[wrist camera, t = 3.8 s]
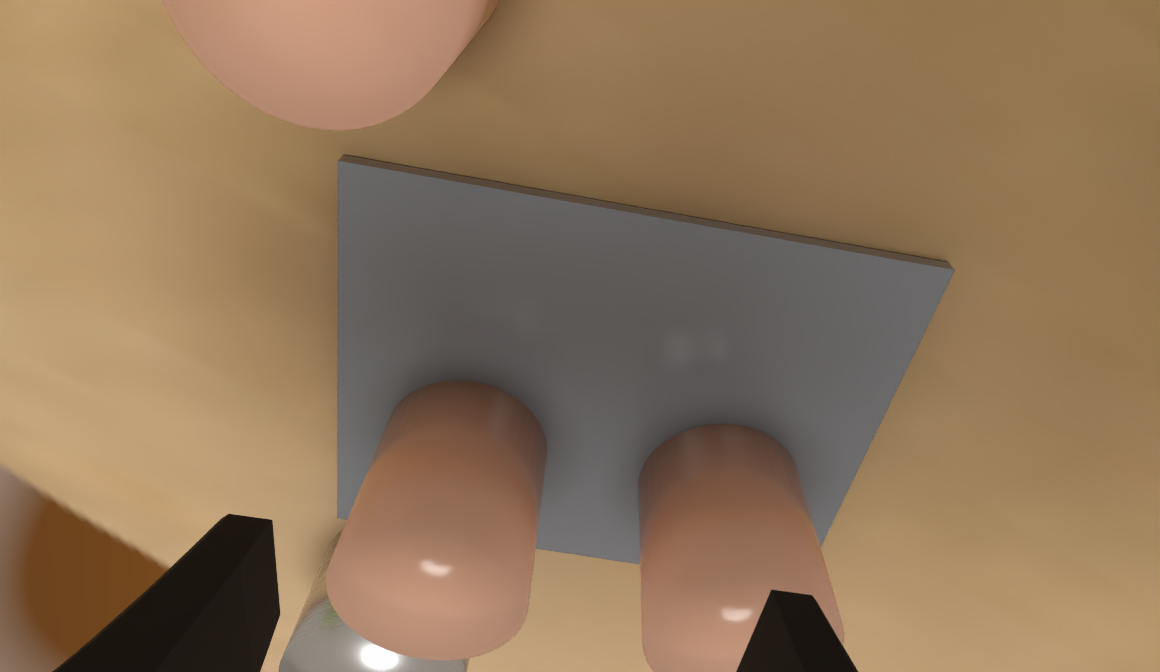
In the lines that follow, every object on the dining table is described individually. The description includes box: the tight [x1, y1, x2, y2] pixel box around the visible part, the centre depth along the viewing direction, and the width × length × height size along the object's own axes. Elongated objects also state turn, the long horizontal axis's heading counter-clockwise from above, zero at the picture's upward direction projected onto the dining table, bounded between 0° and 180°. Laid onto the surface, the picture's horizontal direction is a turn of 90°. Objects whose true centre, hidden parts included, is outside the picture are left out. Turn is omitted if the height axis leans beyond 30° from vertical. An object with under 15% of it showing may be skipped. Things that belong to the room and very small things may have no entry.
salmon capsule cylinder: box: [638, 424, 844, 672], centre depth 19 cm, size 4×4×5 cm
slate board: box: [337, 155, 955, 564], centre depth 20 cm, size 14×11×1 cm
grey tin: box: [279, 530, 469, 672], centre depth 23 cm, size 5×5×4 cm
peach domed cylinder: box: [326, 381, 547, 660], centre depth 19 cm, size 4×4×5 cm
